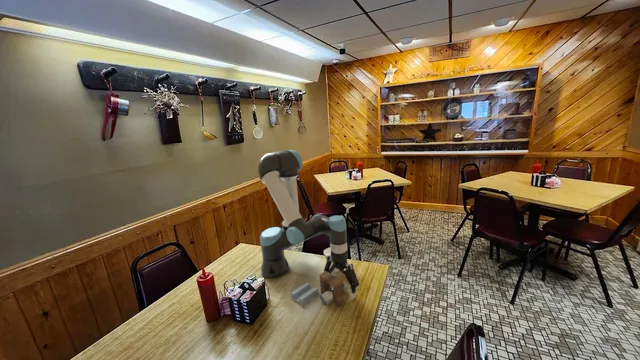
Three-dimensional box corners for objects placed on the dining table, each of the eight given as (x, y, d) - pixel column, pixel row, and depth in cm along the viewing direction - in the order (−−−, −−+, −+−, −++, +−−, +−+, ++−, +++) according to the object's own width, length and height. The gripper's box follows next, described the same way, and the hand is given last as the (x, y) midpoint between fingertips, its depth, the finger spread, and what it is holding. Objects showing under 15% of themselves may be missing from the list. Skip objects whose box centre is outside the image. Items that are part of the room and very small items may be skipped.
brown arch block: (321, 295, 117) (319, 274, 114) (327, 291, 119) (325, 270, 117) (338, 307, 109) (337, 284, 106) (344, 302, 111) (343, 280, 109)
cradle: (291, 297, 117) (290, 292, 116) (307, 287, 123) (307, 281, 123) (302, 306, 111) (301, 300, 110) (318, 294, 118) (318, 288, 117)
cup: (343, 264, 140) (342, 246, 138) (343, 275, 131) (342, 256, 128) (325, 265, 141) (324, 247, 139) (324, 275, 132) (322, 256, 129)
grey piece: (328, 307, 109) (327, 297, 108) (320, 303, 113) (319, 292, 112) (348, 292, 117) (347, 282, 117) (340, 288, 121) (339, 279, 120)
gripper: (314, 245, 119) (317, 285, 124) (355, 263, 102) (357, 308, 107) (325, 239, 124) (328, 278, 129) (366, 255, 107) (368, 299, 112)
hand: (341, 292), depth 118 cm, fingers open, 12 cm apart
